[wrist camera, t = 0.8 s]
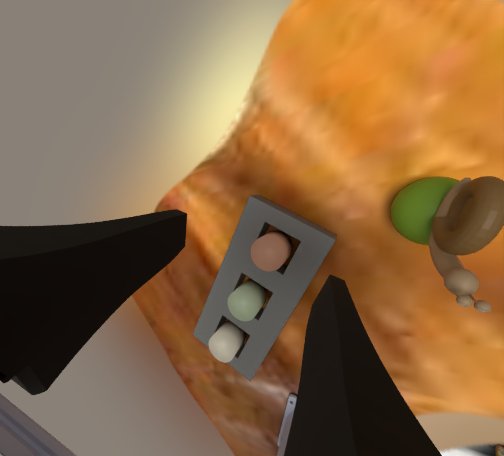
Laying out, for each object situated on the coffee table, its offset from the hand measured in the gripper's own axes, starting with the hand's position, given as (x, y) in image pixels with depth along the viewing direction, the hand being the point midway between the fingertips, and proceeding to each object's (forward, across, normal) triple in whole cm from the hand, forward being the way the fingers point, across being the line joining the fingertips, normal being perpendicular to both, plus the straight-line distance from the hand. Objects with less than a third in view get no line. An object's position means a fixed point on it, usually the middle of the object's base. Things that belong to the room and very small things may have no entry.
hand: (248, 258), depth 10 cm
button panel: (+12, 0, +14) cm, 19 cm away
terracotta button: (+12, 0, +7) cm, 14 cm away
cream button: (+9, +1, +21) cm, 23 cm away
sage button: (+10, +1, +14) cm, 17 cm away
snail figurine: (+15, -11, -1) cm, 19 cm away
